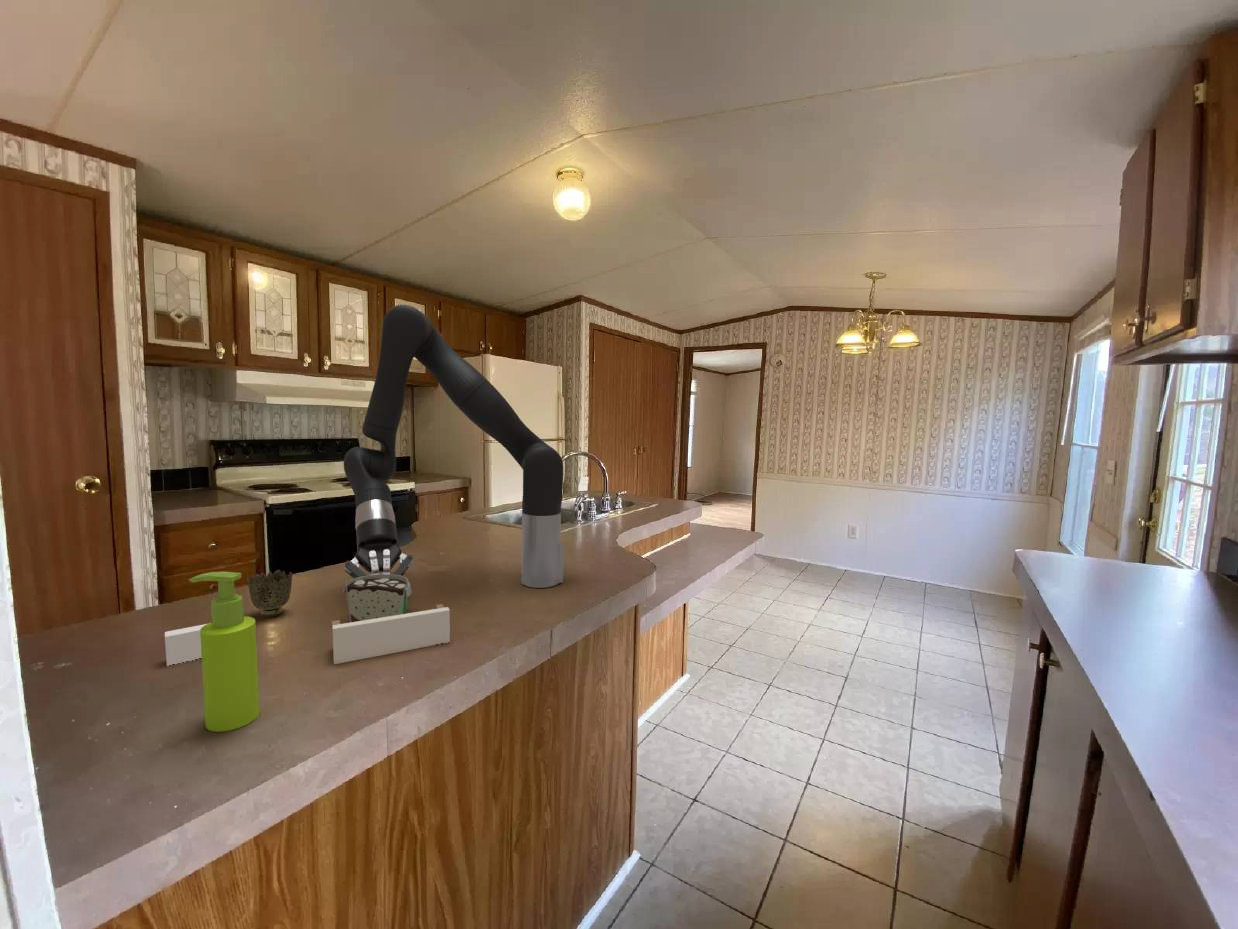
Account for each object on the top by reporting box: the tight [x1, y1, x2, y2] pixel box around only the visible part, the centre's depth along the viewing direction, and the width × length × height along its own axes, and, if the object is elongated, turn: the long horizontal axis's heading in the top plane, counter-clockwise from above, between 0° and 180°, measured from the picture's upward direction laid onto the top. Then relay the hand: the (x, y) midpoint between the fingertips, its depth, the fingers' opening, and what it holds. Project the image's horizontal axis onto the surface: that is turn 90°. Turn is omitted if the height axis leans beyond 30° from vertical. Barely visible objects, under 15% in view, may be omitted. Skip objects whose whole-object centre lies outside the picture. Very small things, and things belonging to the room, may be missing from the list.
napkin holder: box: [164, 623, 207, 667], centre depth 89 cm, size 15×11×6 cm
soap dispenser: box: [188, 571, 261, 733], centre depth 71 cm, size 6×7×20 cm
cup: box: [246, 569, 293, 618], centre depth 105 cm, size 8×7×8 cm
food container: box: [342, 573, 413, 623], centre depth 100 cm, size 12×6×10 cm, turn 84°
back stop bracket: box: [331, 603, 451, 665], centre depth 94 cm, size 18×6×6 cm, turn 120°
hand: (383, 603), depth 102 cm, fingers closed
